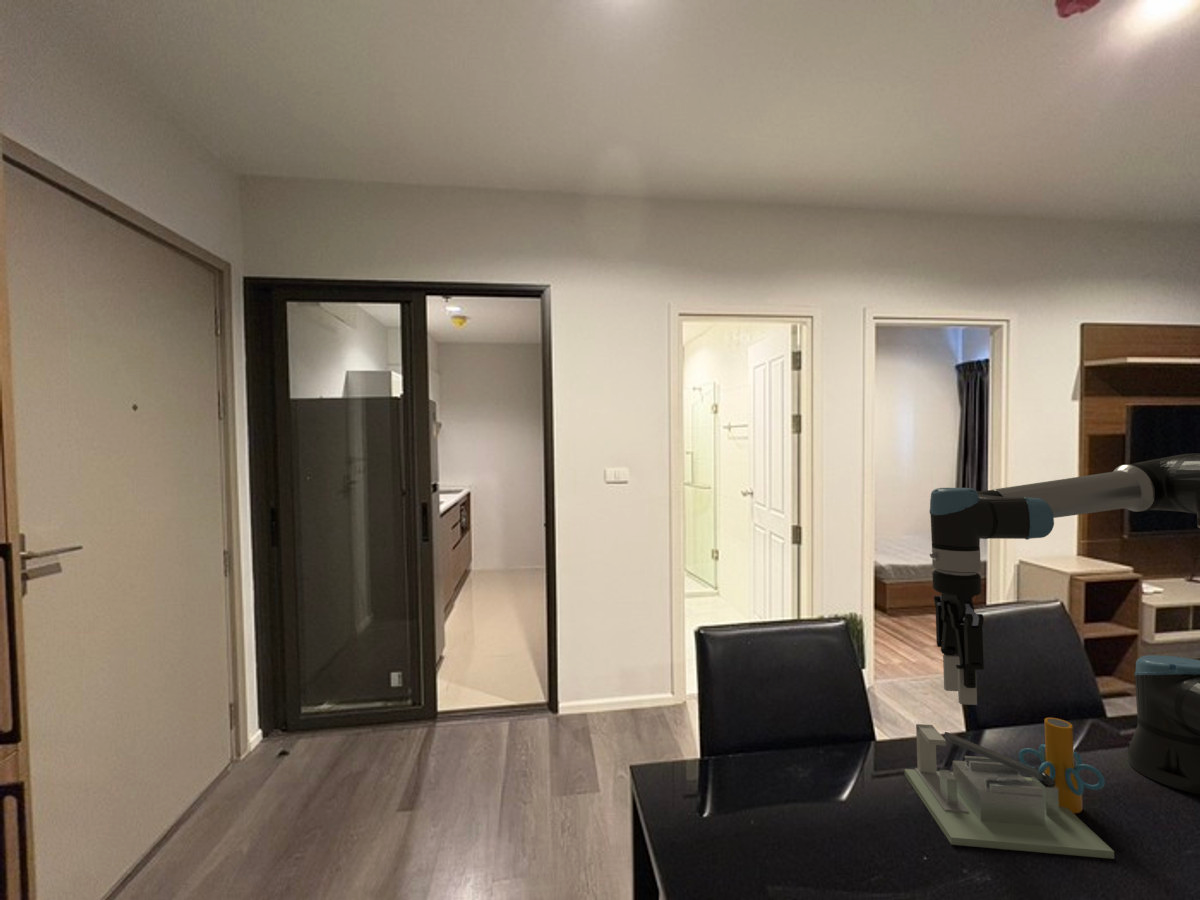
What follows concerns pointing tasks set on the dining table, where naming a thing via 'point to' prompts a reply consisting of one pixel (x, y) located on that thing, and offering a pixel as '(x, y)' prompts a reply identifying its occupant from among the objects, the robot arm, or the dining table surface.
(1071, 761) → the orange tube with rings
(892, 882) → the dining table surface
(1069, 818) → the board
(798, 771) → the dining table surface
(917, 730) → the latch
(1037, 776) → the strap
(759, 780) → the dining table surface
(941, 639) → the robot arm
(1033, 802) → the heatsink
